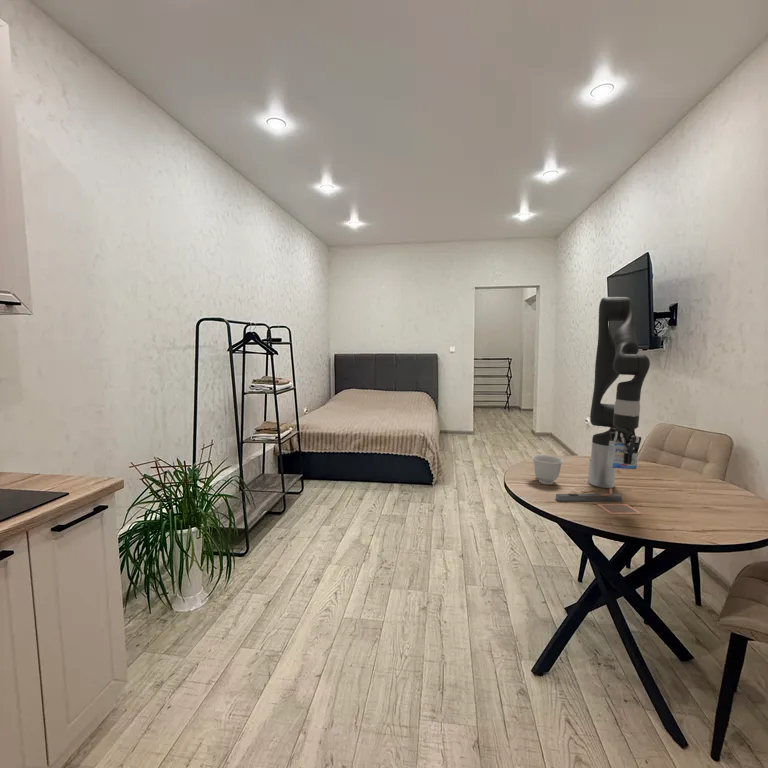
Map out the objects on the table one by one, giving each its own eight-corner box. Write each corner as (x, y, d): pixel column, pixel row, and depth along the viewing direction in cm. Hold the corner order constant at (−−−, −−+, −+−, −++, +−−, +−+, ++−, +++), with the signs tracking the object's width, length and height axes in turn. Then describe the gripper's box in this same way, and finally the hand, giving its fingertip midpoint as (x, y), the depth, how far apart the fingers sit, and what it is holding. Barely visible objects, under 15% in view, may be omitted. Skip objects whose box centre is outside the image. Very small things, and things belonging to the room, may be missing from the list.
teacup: (552, 475, 179) (554, 453, 178) (566, 487, 164) (568, 463, 163) (524, 474, 179) (525, 452, 178) (536, 486, 164) (538, 462, 163)
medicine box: (611, 468, 141) (614, 443, 140) (606, 464, 145) (609, 440, 144) (636, 469, 139) (639, 444, 138) (631, 465, 144) (633, 441, 143)
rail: (555, 499, 152) (556, 487, 151) (618, 499, 153) (619, 487, 153) (558, 501, 150) (559, 489, 149) (621, 501, 151) (622, 489, 151)
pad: (597, 505, 147) (597, 503, 147) (626, 504, 148) (626, 503, 148) (610, 514, 139) (610, 513, 139) (641, 514, 140) (641, 513, 140)
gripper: (603, 409, 147) (599, 455, 149) (629, 416, 133) (624, 468, 135) (623, 409, 147) (619, 455, 149) (651, 417, 133) (646, 468, 135)
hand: (622, 461), depth 142 cm, fingers closed on medicine box, 5 cm apart
